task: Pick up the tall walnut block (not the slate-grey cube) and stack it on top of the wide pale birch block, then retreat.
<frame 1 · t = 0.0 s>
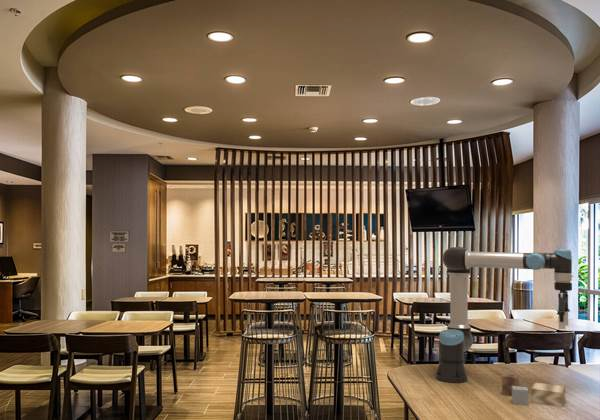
hand: (563, 327, 268), 28 cm above the table, fingers open, 13 cm apart
slate cube: (520, 402, 240), on the table
birch block: (548, 401, 243), on the table
walnut block: (510, 393, 253), on the table
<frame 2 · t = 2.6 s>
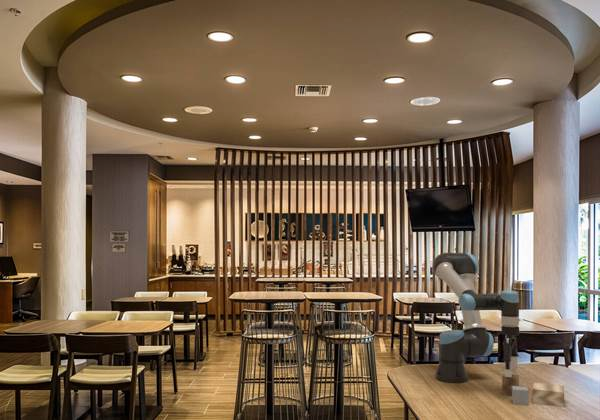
hand: (511, 374, 253), 9 cm above the table, fingers open, 13 cm apart
nothing on the table moved.
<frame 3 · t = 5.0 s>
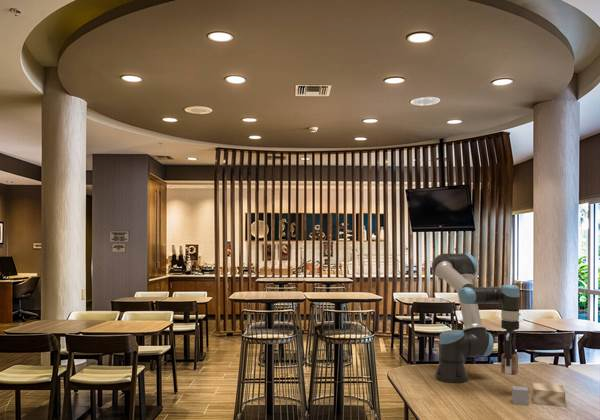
hand: (509, 371, 255), 10 cm above the table, fingers closed on walnut block, 6 cm apart
walnut block: (509, 372, 255), point 9 cm above the table, touching gripper
everything else where it was.
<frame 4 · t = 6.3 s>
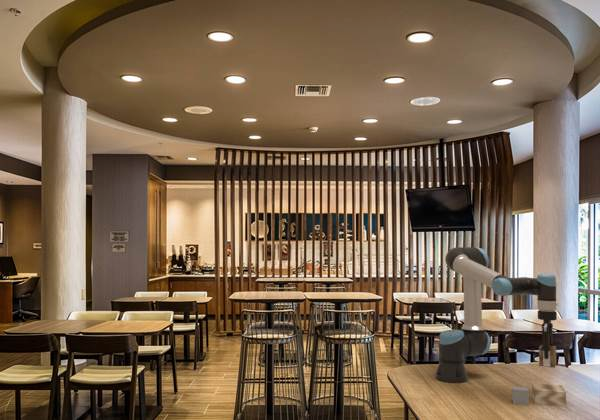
hand: (547, 364, 244), 15 cm above the table, fingers closed on walnut block, 6 cm apart
walnut block: (547, 365, 244), point 15 cm above the table, touching gripper
everything else where it was.
when the fingers open (7 cm above the table, at t = 8.1 s): walnut block stays where it is, resting on birch block.
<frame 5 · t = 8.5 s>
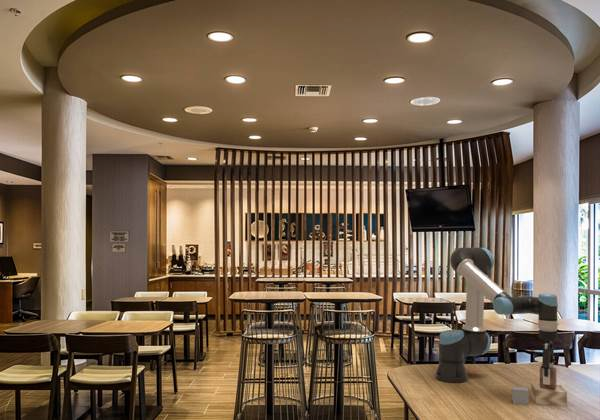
hand: (548, 381, 243), 8 cm above the table, fingers open, 12 cm apart
birch block: (548, 401, 243), on the table, touching walnut block
walnut block: (548, 387, 243), point 6 cm above the table, touching birch block
everything else where it was.
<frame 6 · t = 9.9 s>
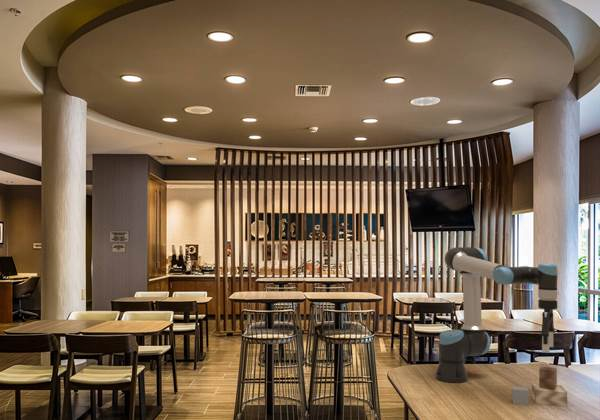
hand: (547, 349, 244), 22 cm above the table, fingers open, 13 cm apart
nothing on the table moved.
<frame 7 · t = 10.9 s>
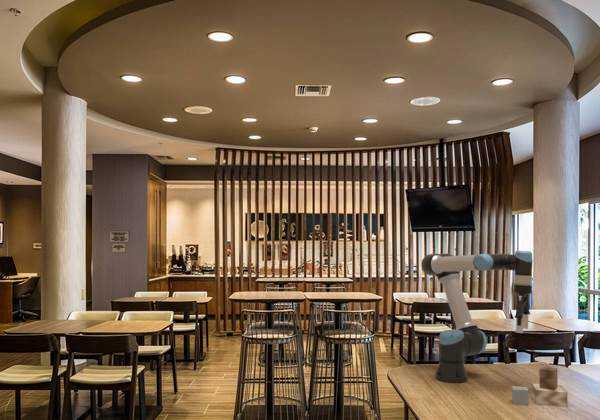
hand: (522, 330, 263), 27 cm above the table, fingers open, 13 cm apart
nothing on the table moved.
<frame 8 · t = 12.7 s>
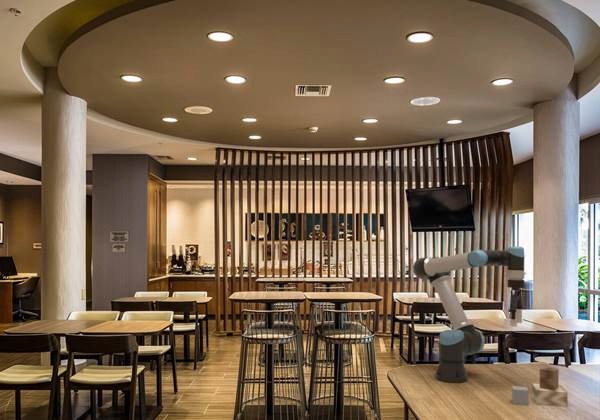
hand: (516, 324, 268), 29 cm above the table, fingers open, 13 cm apart
birch block: (549, 401, 243), on the table
walnut block: (549, 387, 243), point 6 cm above the table
everything else where it was.
at the end: walnut block inside the target area on the birch block (0.3 cm from its centre), point 6.0 cm above the birch block's base; walnut block tilted 0°; the gripper is holding nothing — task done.
